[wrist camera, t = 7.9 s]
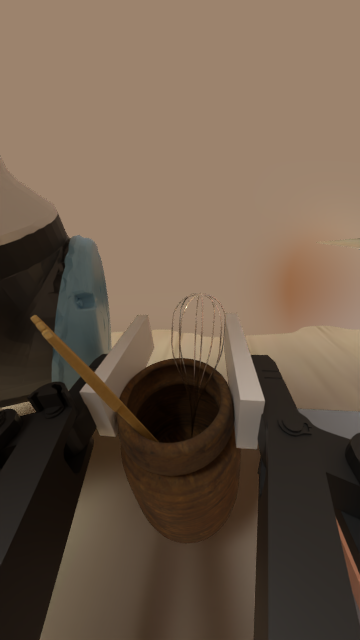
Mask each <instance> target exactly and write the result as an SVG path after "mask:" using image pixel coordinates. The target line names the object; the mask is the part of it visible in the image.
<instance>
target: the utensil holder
mask: <svg viewBox="0 0 360 640" xmlns="http://www.w3.org/2000/svg"><path fill="white" fill-rule="evenodd" d="M193 295H196V296H198V300H199V295H201V301H202V332H201V348H200V361H197V360H195V349H194V360H193V359H185V358H180V352H181V346H180V340H181V325H182V319H183V315H184V312H185V310H186V308H187V306H188V304H189V303H190V301H191V300H192V299H193V298H195V297H196V296H194V297H193V298H192V299H191V300H190V301H189V302H188V304H187V305H186V307H185V310H184V312H183V314H182V318H181V310H182V306H183V304H184V302H185V300H186V299H187V298H188V297H190V296H193ZM202 295H204V296H206V295H207V296H206V297H208V296H209V297H208V298H209V299H210V300H212V298H214V297H213V296H211V295H208V294H204V293H203V294H201V293H194V294H191V295H189V296H187V297H185V298H184V299H185V300H184V299H182V300H181V301H180V302H179V304H180V303H181V302H182V301H183V300H184V302H183V304H182V306H181V310H180V319H181V320H180V321H181V324H180V323H179V358H176V359H175V357H174V353H173V339H172V338H173V319H174V314H175V311H176V309H177V307H178V305H179V304H178V305H177V307H176V309H175V311H174V314H173V319H172V338H171V339H172V353H173V357H174V359H168V360H164V361H160V362H157V363H155V364H152V365H150V366H148V367H146V368H145V369H143V370H141V371H140V372H139V373H137V374H136V375H135V376H134V377H133V378H132V379H131V380H130V381H129V382H128V384H127V385H126V386H125V388H124V389H123V391H122V393H121V395H120V398H118V397H117V396H116V395H115V394H114V393H113V392H112V391H111V390H110V389H109V387H108V386H107V385H106V384H105V383H104V382H103V381H102V380H101V379H100V378H99V377H98V376H97V375H96V374H95V373H94V372H93V371H92V370H91V369H90V368H89V367H88V366H87V365H86V364H85V363H84V362H83V361H82V360H81V359H80V358H79V357H78V356H77V355H76V354H75V353H74V352H73V351H72V350H71V349H70V348H69V347H68V346H67V345H66V344H65V343H64V342H63V341H62V340H61V339H60V338H59V337H58V336H57V335H56V334H55V333H54V332H53V331H52V330H51V329H50V328H49V327H48V326H47V325H46V324H45V323H44V322H43V321H42V320H41V319H40V318H39V317H38V316H37V315H34V316H32V317H31V320H32V321H33V323H34V324H35V325H36V327H37V328H38V329H39V331H40V332H41V333H42V335H43V337H44V338H45V339H46V340H47V341H48V342H49V343H50V344H51V345H52V346H53V347H54V348H55V350H56V351H57V352H58V353H59V354H60V355H61V356H62V357H63V358H64V359H65V360H66V361H67V362H68V363H69V365H70V366H71V367H72V368H73V369H74V370H75V371H76V372H77V373H78V374H79V375H80V376H81V377H82V378H83V380H84V381H85V382H86V383H87V384H88V385H89V386H90V387H91V388H92V389H93V390H94V391H95V392H96V393H97V395H98V396H99V397H100V398H101V399H102V400H103V401H104V402H105V403H106V404H107V405H108V406H109V407H110V408H111V409H112V410H113V411H114V412H116V416H117V428H118V434H119V438H120V441H121V455H122V462H123V466H124V470H125V473H126V476H127V479H128V482H129V484H130V486H131V488H132V491H133V493H134V495H135V497H136V499H137V501H138V503H139V506H140V507H141V509H142V511H143V513H144V515H145V516H146V518H147V519H148V521H149V522H150V523H151V525H152V526H153V527H154V528H155V529H156V530H157V531H158V532H159V533H161V534H162V535H163V536H165V537H167V538H168V539H170V540H173V541H176V542H180V543H195V542H199V541H202V540H204V539H207V538H208V537H210V536H212V535H213V534H214V533H216V532H217V531H218V530H219V529H220V528H221V527H222V526H223V524H224V523H225V522H226V520H227V518H228V517H229V515H230V513H231V511H232V508H233V506H234V503H235V500H236V496H237V490H238V484H239V472H240V452H241V448H236V440H235V432H234V405H233V400H232V396H231V392H230V389H229V386H228V384H227V382H226V381H225V379H224V378H223V377H222V375H221V374H220V373H219V372H218V371H217V370H216V367H217V364H218V362H219V360H220V357H221V354H222V350H223V346H224V338H225V325H226V316H225V311H224V308H223V306H222V304H221V303H220V302H219V301H218V300H217V299H216V298H214V299H216V300H217V301H218V302H219V304H220V305H221V307H222V309H223V311H224V316H225V324H224V338H223V345H222V350H221V354H220V349H221V337H222V318H221V314H220V311H219V309H218V307H217V305H216V304H215V302H214V301H213V300H212V303H213V308H214V304H215V305H216V307H217V309H218V312H219V315H220V319H221V336H220V348H219V355H218V360H217V364H216V366H215V368H213V367H211V366H209V365H208V364H207V363H208V359H209V356H210V352H211V347H212V342H211V347H210V352H209V356H208V359H207V363H206V364H205V363H203V362H201V350H202V334H203V300H202ZM211 297H212V298H211ZM198 300H197V307H198ZM214 319H215V309H214ZM196 323H197V310H196ZM213 333H214V320H213ZM212 341H213V334H212ZM195 344H196V326H195ZM219 356H220V357H219ZM181 357H182V352H181Z"/></svg>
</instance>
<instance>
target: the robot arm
mask: <svg viewBox="0 0 360 640" xmlns="http://www.w3.org/2000/svg"><path fill="white" fill-rule="evenodd" d="M34 315H37V316H38V317H39V318H40V319H41V320H42V321H43V322H44V323H45V324H46V325H47V326H48V327H49V328H50V329H51V330H52V331H53V332H54V333H55V334H56V335H57V336H58V337H59V338H60V339H61V340H62V341H63V342H64V343H65V344H66V345H67V346H68V347H69V348H70V349H71V350H72V351H73V352H74V353H75V354H76V355H77V356H78V357H79V358H80V359H81V360H82V361H83V362H84V363H85V364H86V365H87V366H88V367H89V368H90V369H91V370H92V371H93V372H94V373H95V374H96V375H97V376H98V377H99V378H100V379H101V380H102V381H103V382H104V383H105V384H106V385H107V386H108V387H109V389H110V390H111V391H112V392H113V393H114V394H115V395H116V396H117V397H118V398H120V395H121V393H122V391H123V389H124V388H125V386H126V385H127V384H128V382H129V381H130V380H131V379H132V378H133V377H134V376H135V375H136V374H137V373H139V372H140V371H141V370H143V369H145V368H146V366H147V363H148V361H149V359H150V356H151V354H152V352H153V349H154V344H153V338H152V333H151V328H150V323H149V317H148V315H137V316H136V318H135V319H134V321H133V322H132V323H131V324H130V326H129V327H128V328H127V330H126V331H125V332H124V334H123V335H122V336H121V338H120V339H119V340H118V342H117V343H116V344H115V346H114V347H113V348H112V350H111V327H110V315H109V305H108V296H107V289H106V283H105V276H104V271H103V266H102V261H101V258H100V255H99V253H98V249H97V246H96V244H95V242H94V241H93V240H91V239H89V238H83V237H81V236H80V235H78V236H73V237H72V238H69V237H68V235H67V233H66V232H65V229H64V227H63V224H62V222H61V220H60V217H59V215H58V212H57V210H56V208H55V206H54V204H52V203H51V202H50V201H48V200H47V199H45V198H44V197H42V196H41V195H39V194H38V193H36V192H35V191H33V190H32V189H30V188H29V187H27V186H26V185H24V184H23V183H21V182H20V181H18V180H17V179H16V178H15V177H14V176H13V175H12V174H11V173H10V172H9V171H8V170H7V168H6V166H5V164H4V162H3V160H2V158H1V156H0V640H39V639H40V636H41V632H42V628H43V625H44V621H45V618H46V614H47V610H48V607H49V603H50V600H51V596H52V592H53V589H54V585H55V582H56V578H57V575H58V571H59V567H60V564H61V560H62V557H63V553H64V549H65V546H66V542H67V539H68V535H69V531H70V528H71V524H72V521H73V517H74V513H75V510H76V506H77V503H78V499H79V495H80V492H81V488H82V485H83V481H84V477H85V474H86V470H87V467H88V463H89V460H90V456H91V452H92V449H93V443H94V440H93V438H92V435H93V433H94V431H95V429H96V428H97V430H98V432H99V434H100V436H111V437H116V436H117V433H118V428H117V416H116V412H114V411H113V410H112V409H111V408H110V407H109V406H108V405H107V404H106V403H105V402H104V401H103V400H102V399H101V398H100V397H99V396H98V395H97V393H96V392H95V391H94V390H93V389H92V388H91V387H90V386H89V385H88V384H87V383H86V382H85V381H84V380H83V378H82V377H81V376H80V375H79V374H78V373H77V372H76V371H75V370H74V369H73V368H72V367H71V366H70V365H69V363H68V362H67V361H66V360H65V359H64V358H63V357H62V356H61V355H60V354H59V353H58V352H57V351H56V350H55V348H54V347H53V346H52V345H51V344H50V343H49V342H48V341H47V340H46V339H45V338H44V337H43V335H42V333H41V332H40V331H39V329H38V328H37V327H36V325H35V324H34V323H33V321H32V320H31V317H32V316H34ZM225 316H226V325H225V338H224V351H225V359H226V367H227V375H228V383H229V389H230V392H231V396H232V400H233V405H234V432H235V440H236V448H246V449H257V445H259V449H260V453H261V458H260V463H259V468H258V474H259V496H258V526H257V556H256V586H255V616H254V640H360V624H359V619H358V615H357V610H356V606H355V601H354V597H353V592H352V588H351V583H350V579H349V575H348V570H347V566H346V561H345V557H344V552H343V548H342V543H341V539H340V534H339V530H338V525H337V521H338V524H339V526H340V528H341V531H342V533H343V536H344V538H345V540H346V543H347V545H348V548H349V550H350V552H351V555H352V557H353V560H354V562H355V564H356V567H357V569H358V572H359V574H360V433H357V434H355V435H354V436H353V437H352V438H351V439H348V438H345V437H342V436H339V435H336V434H333V433H330V432H327V431H325V430H322V429H320V428H318V427H316V426H314V425H313V424H312V423H311V422H310V421H309V419H308V418H307V417H305V416H304V415H303V414H301V413H300V412H299V411H298V409H297V407H296V405H295V403H294V401H293V399H292V397H291V395H290V393H289V390H288V388H287V386H286V384H285V382H284V380H283V379H282V376H281V374H280V372H279V369H278V367H277V365H276V363H275V362H274V361H273V360H272V359H271V358H270V357H269V356H268V355H250V352H249V349H248V345H247V342H246V339H245V336H244V333H243V329H242V326H241V323H240V320H239V317H238V314H237V313H225ZM68 390H69V391H68ZM28 401H29V402H30V403H31V405H32V406H33V408H34V409H35V411H36V413H32V414H27V415H23V416H19V415H18V414H17V412H16V411H15V410H13V409H2V407H6V406H11V405H15V404H19V403H23V402H28ZM335 516H336V517H335ZM336 519H337V521H336Z"/></svg>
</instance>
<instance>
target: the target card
mask: <svg viewBox="0 0 360 640" xmlns="http://www.w3.org/2000/svg"><path fill="white" fill-rule="evenodd" d="M298 411H299V412H300V413H301V414H303V415H304V416H305V417H307V418H308V419H309V421H310V422H311V423H312V424H313V425H314V426H316V427H318V428H320V429H322V430H325V431H327V432H330V433H333V434H336V435H339V436H342V437H345V438H348V439H351V438H352V437H353V436H354V435H355V434H357V433H360V412H357V411H337V410H316V409H298ZM335 517H336V516H335ZM336 521H337V519H336ZM337 525H338V530H339V534H340V539H341V543H342V548H343V552H344V557H345V561H346V566H347V570H348V575H349V579H350V583H351V588H352V592H353V597H354V601H355V606H356V610H357V615H358V619H359V624H360V574H359V572H358V569H357V567H356V564H355V562H354V560H353V557H352V555H351V552H350V550H349V548H348V545H347V543H346V540H345V538H344V536H343V533H342V531H341V528H340V526H339V524H338V521H337Z"/></svg>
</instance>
